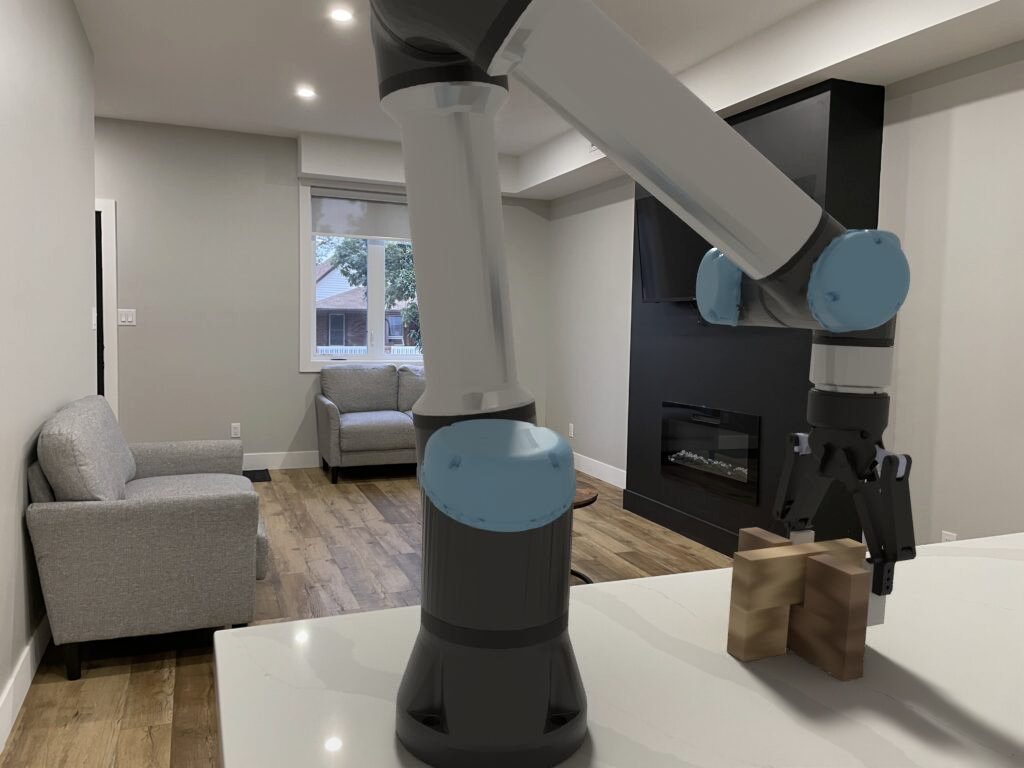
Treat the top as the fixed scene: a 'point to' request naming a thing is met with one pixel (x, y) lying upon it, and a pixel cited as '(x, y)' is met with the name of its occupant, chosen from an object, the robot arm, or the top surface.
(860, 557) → the wooden interlocking puzzle
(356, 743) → the top surface
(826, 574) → the slotted wooden board
